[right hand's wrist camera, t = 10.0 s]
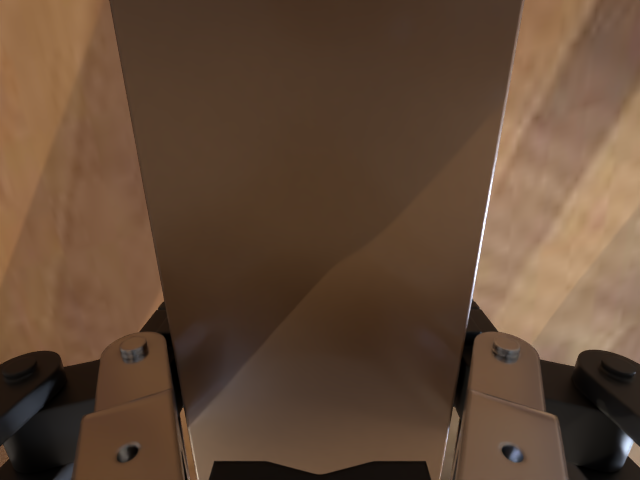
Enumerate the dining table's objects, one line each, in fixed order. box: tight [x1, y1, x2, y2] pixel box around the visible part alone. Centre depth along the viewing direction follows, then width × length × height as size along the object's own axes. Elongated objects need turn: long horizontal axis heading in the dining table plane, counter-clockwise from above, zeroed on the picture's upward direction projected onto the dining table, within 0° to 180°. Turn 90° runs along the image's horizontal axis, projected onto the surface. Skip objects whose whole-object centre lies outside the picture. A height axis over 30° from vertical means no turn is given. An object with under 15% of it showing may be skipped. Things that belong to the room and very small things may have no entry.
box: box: [109, 0, 525, 480], centre depth 9 cm, size 23×6×9 cm, turn 0°
